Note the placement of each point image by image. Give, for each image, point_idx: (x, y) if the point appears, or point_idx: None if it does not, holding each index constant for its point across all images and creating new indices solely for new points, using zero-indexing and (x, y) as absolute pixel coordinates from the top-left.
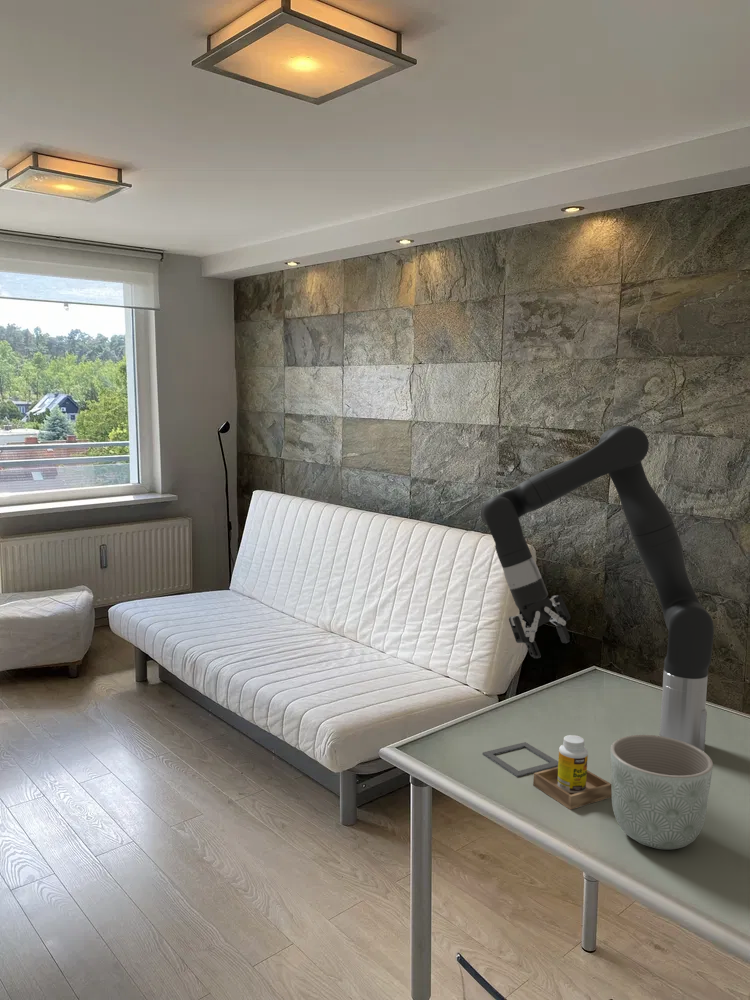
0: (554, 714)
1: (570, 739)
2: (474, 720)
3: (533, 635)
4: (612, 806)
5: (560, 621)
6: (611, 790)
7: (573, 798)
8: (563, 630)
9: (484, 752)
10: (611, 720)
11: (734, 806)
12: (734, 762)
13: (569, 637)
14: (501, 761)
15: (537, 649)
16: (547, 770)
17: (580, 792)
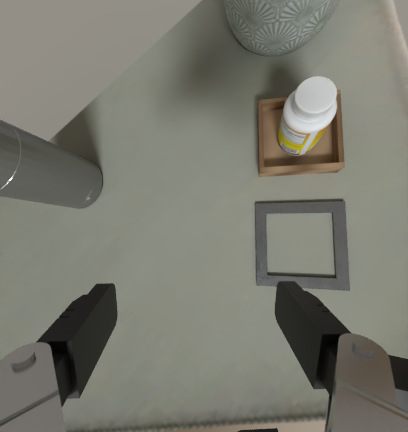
0: (144, 343)
1: (323, 94)
2: (277, 405)
3: (349, 368)
4: (328, 18)
5: (34, 379)
6: (333, 3)
7: None
8: (81, 322)
9: (346, 288)
10: (93, 282)
11: (151, 53)
12: (70, 128)
13: (80, 297)
14: (339, 249)
15: (302, 299)
16: (317, 165)
17: None
